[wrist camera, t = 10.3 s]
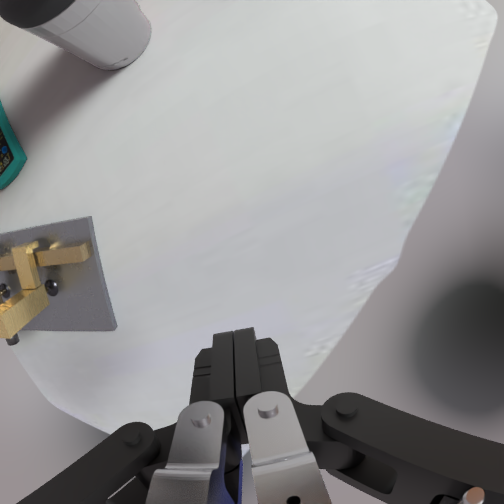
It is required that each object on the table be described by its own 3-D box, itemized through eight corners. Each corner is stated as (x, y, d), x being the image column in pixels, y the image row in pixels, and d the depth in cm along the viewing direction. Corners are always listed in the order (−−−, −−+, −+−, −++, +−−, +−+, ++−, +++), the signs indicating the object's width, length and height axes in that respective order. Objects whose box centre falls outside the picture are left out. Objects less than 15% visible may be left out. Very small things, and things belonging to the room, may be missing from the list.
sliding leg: (26, 241, 36) (-28, 268, 25) (40, 239, 36) (-14, 266, 25) (44, 307, 39) (-1, 347, 28) (59, 307, 39) (14, 349, 28)
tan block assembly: (-16, 247, 37) (-67, 272, 25) (86, 229, 37) (31, 258, 25) (1, 307, 40) (-44, 341, 28) (103, 304, 40) (61, 352, 28)
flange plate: (-16, 237, 38) (-20, 239, 36) (91, 216, 37) (87, 217, 36) (10, 325, 42) (6, 329, 41) (117, 326, 42) (114, 330, 41)
